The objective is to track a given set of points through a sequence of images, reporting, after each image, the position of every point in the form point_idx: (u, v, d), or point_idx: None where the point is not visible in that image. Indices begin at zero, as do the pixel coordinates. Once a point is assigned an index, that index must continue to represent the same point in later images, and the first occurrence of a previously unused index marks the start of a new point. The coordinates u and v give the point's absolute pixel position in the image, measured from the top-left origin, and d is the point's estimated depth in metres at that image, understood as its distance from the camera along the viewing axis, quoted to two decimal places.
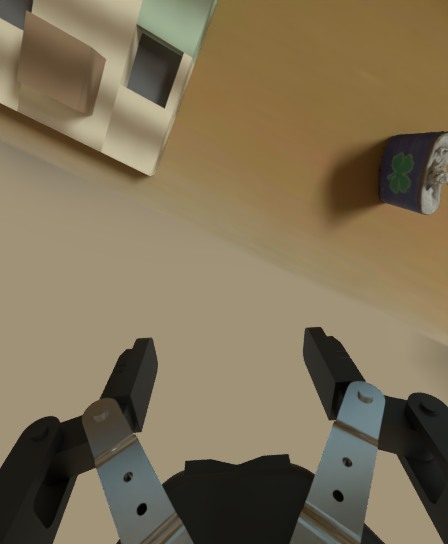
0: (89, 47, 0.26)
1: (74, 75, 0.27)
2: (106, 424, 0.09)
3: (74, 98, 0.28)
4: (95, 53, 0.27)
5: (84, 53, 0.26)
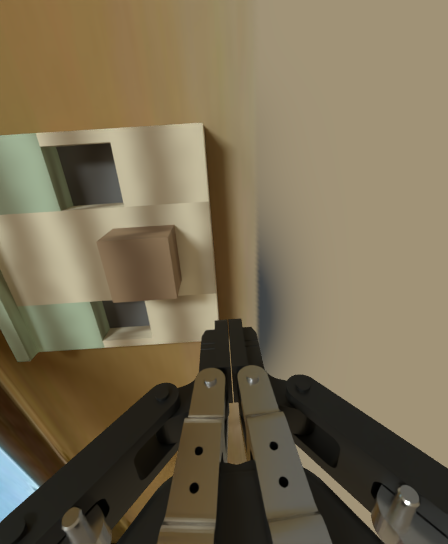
0: (97, 243, 0.22)
1: (134, 249, 0.22)
2: (208, 392, 0.10)
3: (156, 242, 0.22)
4: (103, 237, 0.23)
5: (106, 246, 0.22)
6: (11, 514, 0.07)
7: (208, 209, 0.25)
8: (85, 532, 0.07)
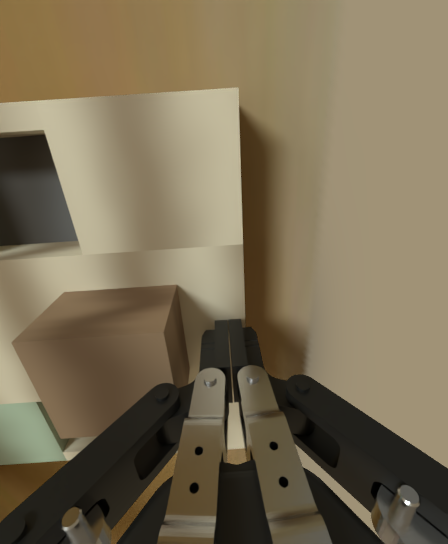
0: (15, 344, 0.10)
1: (93, 354, 0.11)
2: (209, 392, 0.10)
3: (140, 342, 0.11)
4: (34, 324, 0.11)
5: (34, 349, 0.11)
6: (10, 515, 0.07)
7: (241, 258, 0.13)
8: (85, 532, 0.07)
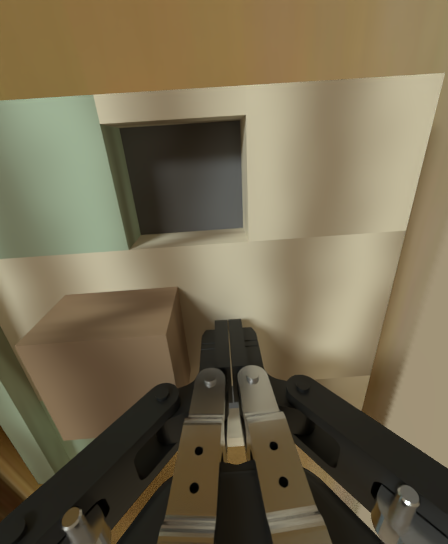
0: (18, 348, 0.10)
1: (96, 357, 0.11)
2: (209, 392, 0.10)
3: (142, 344, 0.11)
4: (37, 327, 0.11)
5: (37, 353, 0.11)
6: (10, 515, 0.07)
7: (400, 244, 0.14)
8: (85, 532, 0.07)
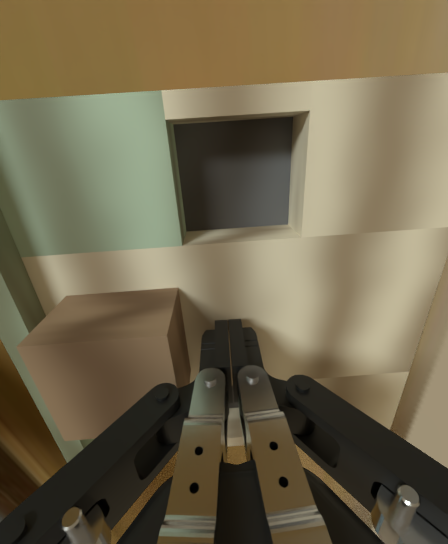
0: (20, 348, 0.11)
1: (98, 358, 0.11)
2: (209, 392, 0.10)
3: (143, 345, 0.11)
4: (38, 328, 0.12)
5: (39, 353, 0.11)
6: (10, 515, 0.07)
7: None
8: (85, 532, 0.07)
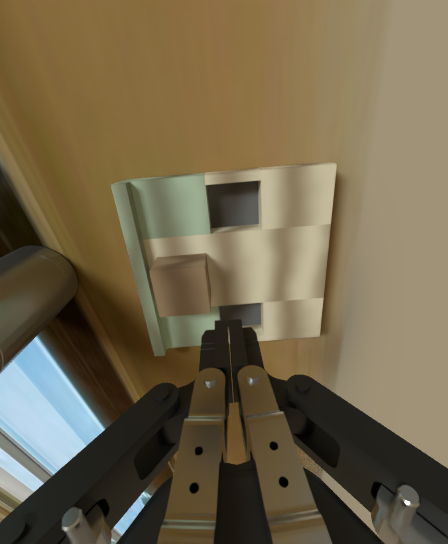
0: (150, 272, 0.28)
1: (178, 276, 0.29)
2: (209, 392, 0.10)
3: (195, 270, 0.28)
4: (153, 266, 0.29)
5: (156, 274, 0.28)
6: (10, 515, 0.07)
7: (329, 230, 0.31)
8: (85, 532, 0.07)
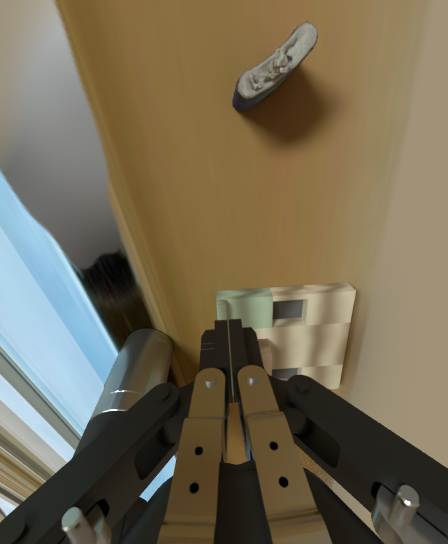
0: None
1: None
2: (208, 392, 0.10)
3: (266, 356, 0.45)
4: None
5: None
6: (10, 515, 0.07)
7: (349, 325, 0.47)
8: (85, 532, 0.07)
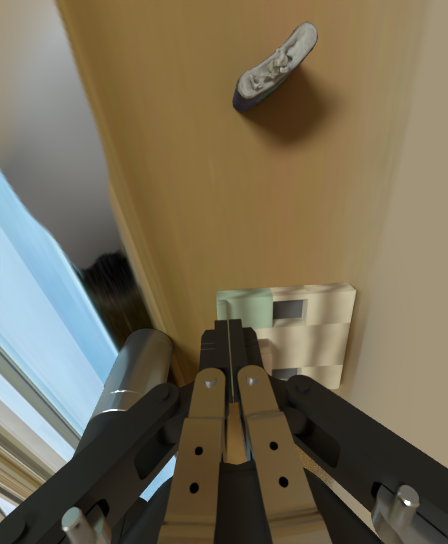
0: None
1: None
2: (209, 392, 0.10)
3: (266, 356, 0.45)
4: None
5: None
6: (10, 515, 0.07)
7: (349, 325, 0.47)
8: (85, 532, 0.07)
